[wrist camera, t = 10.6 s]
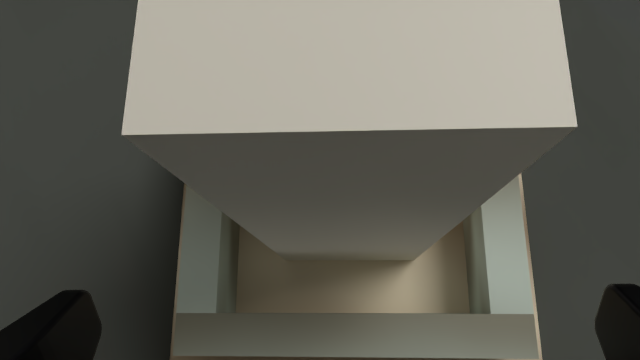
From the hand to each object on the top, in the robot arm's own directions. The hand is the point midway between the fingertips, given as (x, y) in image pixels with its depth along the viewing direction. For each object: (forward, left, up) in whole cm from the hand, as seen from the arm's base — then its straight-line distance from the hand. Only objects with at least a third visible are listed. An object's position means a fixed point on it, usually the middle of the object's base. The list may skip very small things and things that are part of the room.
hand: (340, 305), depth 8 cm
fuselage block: (+4, +1, -8) cm, 9 cm away
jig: (+4, +1, -9) cm, 10 cm away
